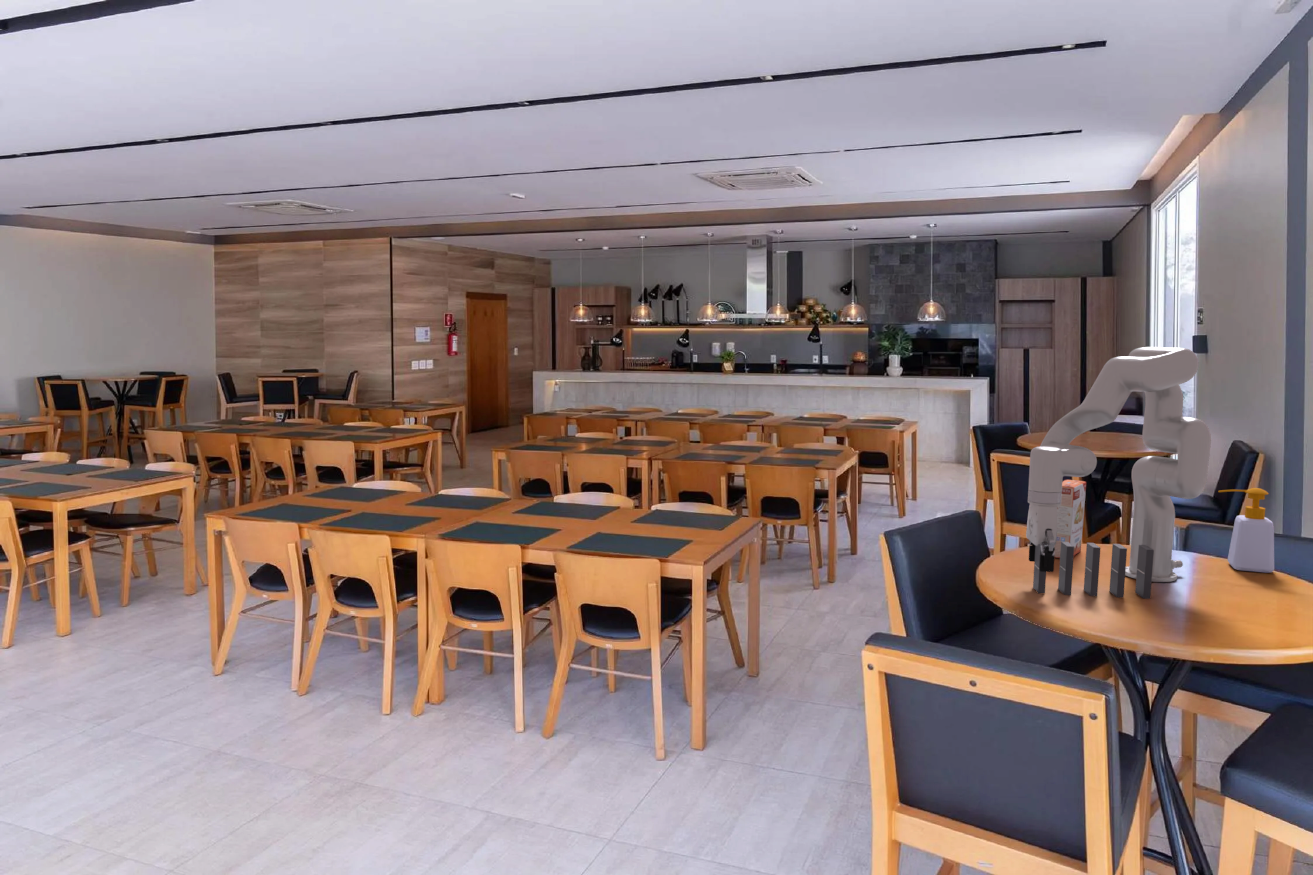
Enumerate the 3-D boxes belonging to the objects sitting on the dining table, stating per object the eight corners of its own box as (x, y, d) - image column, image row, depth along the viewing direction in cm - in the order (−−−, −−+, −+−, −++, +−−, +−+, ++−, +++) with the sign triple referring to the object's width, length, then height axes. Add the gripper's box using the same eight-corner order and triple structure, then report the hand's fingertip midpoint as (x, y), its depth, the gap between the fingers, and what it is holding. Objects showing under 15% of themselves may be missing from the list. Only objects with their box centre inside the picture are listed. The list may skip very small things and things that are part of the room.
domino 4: (1116, 597, 220) (1119, 548, 219) (1109, 591, 225) (1112, 543, 224) (1123, 597, 220) (1127, 548, 219) (1116, 591, 225) (1119, 543, 224)
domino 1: (1037, 593, 223) (1040, 545, 222) (1032, 587, 228) (1035, 540, 227) (1044, 593, 223) (1047, 545, 221) (1039, 588, 228) (1042, 540, 226)
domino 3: (1090, 595, 221) (1093, 547, 220) (1083, 590, 226) (1086, 542, 225) (1097, 596, 221) (1100, 547, 220) (1090, 590, 226) (1093, 542, 225)
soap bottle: (1208, 561, 257) (1214, 483, 254) (1266, 566, 252) (1273, 486, 249) (1215, 569, 248) (1221, 488, 245) (1275, 574, 243) (1282, 492, 240)
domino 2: (1064, 594, 222) (1067, 546, 221) (1058, 588, 227) (1061, 541, 226) (1071, 594, 222) (1074, 546, 221) (1065, 589, 227) (1068, 541, 225)
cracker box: (1070, 560, 256) (1075, 486, 253) (1047, 557, 259) (1052, 484, 257) (1082, 551, 267) (1087, 480, 264) (1060, 548, 270) (1065, 478, 268)
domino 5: (1142, 598, 220) (1146, 549, 218) (1135, 592, 225) (1138, 544, 223) (1150, 598, 219) (1153, 549, 218) (1142, 592, 224) (1145, 544, 223)
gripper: (1019, 491, 232) (1016, 557, 234) (1037, 503, 215) (1034, 574, 217) (1050, 491, 231) (1047, 558, 233) (1071, 504, 214) (1067, 576, 216)
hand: (1040, 566), depth 225 cm, fingers open, 9 cm apart
